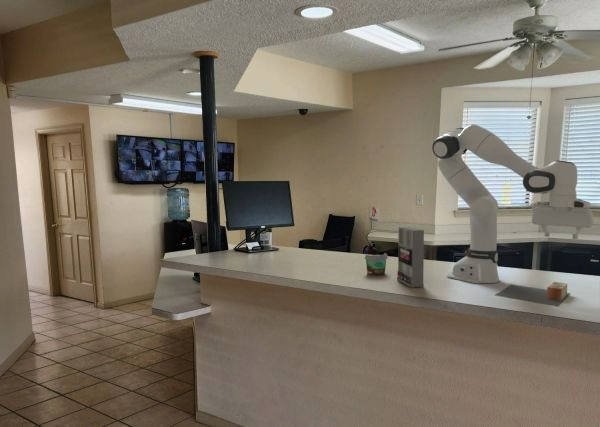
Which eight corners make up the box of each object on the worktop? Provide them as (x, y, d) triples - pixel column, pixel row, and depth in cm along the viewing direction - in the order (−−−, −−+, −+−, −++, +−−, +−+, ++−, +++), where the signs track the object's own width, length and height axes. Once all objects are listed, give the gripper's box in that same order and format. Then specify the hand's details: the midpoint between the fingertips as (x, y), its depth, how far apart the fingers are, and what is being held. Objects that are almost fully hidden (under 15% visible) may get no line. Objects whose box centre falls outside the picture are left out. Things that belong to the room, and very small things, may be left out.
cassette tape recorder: (396, 280, 190) (396, 227, 188) (408, 279, 192) (408, 226, 189) (410, 288, 177) (411, 230, 175) (423, 287, 178) (424, 230, 176)
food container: (371, 277, 197) (371, 256, 196) (364, 274, 202) (364, 254, 202) (392, 274, 202) (392, 254, 201) (385, 272, 207) (385, 252, 207)
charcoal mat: (494, 296, 163) (494, 295, 163) (511, 285, 179) (511, 284, 179) (558, 307, 148) (558, 306, 148) (570, 294, 164) (570, 293, 164)
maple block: (553, 292, 165) (547, 298, 157) (554, 281, 165) (547, 287, 157) (566, 294, 162) (560, 301, 154) (567, 283, 162) (561, 289, 154)
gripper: (530, 201, 164) (529, 235, 165) (592, 203, 150) (590, 241, 151) (534, 201, 169) (533, 234, 170) (595, 202, 154) (593, 239, 156)
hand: (560, 237), depth 160 cm, fingers open, 8 cm apart
